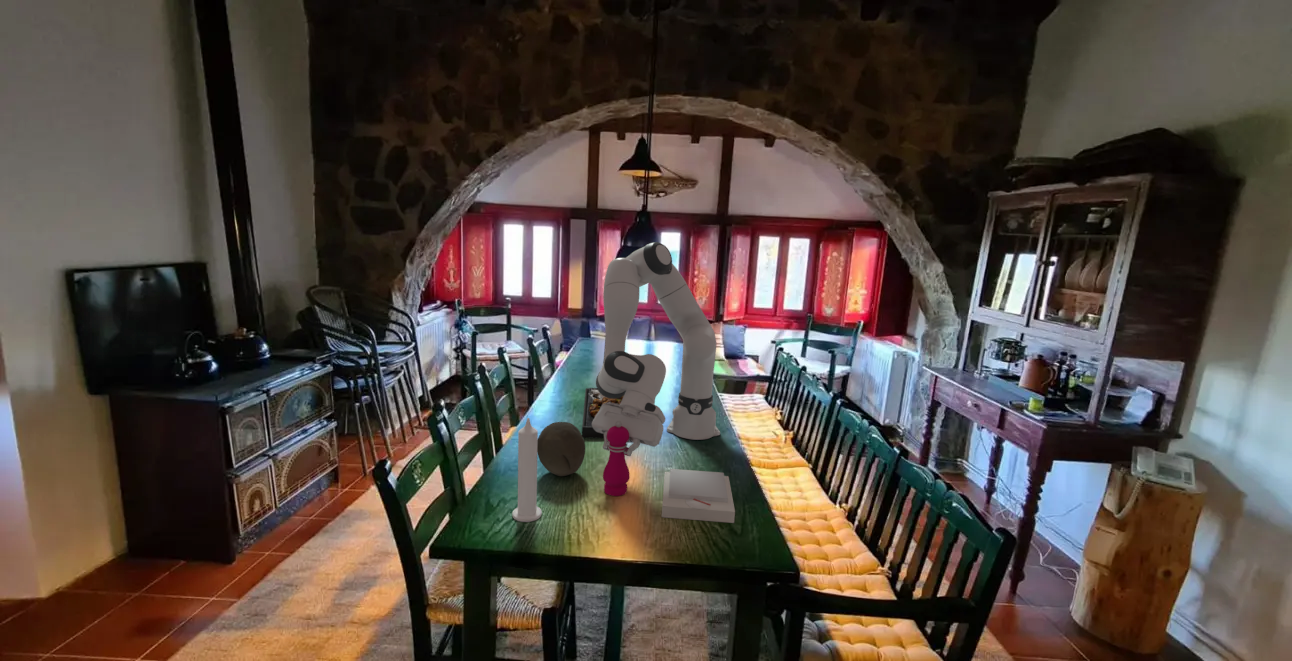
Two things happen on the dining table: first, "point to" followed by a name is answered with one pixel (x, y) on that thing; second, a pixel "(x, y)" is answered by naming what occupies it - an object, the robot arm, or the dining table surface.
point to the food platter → (594, 411)
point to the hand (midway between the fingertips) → (616, 452)
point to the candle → (527, 475)
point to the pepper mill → (616, 461)
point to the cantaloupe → (561, 448)
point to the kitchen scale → (697, 496)
